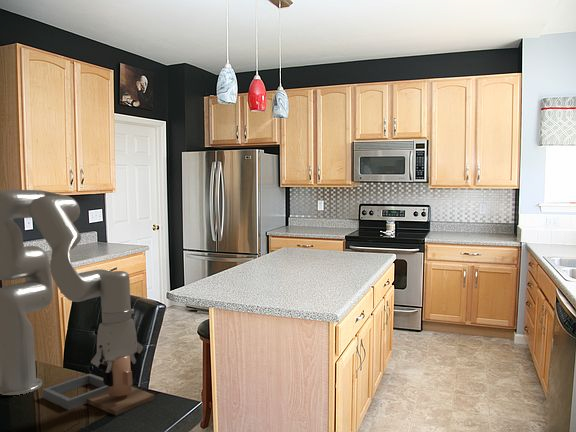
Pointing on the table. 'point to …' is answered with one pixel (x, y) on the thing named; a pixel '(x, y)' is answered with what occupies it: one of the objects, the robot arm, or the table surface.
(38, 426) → the table surface
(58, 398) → the holder frame
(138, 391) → the board
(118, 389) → the tan tapered capsule
